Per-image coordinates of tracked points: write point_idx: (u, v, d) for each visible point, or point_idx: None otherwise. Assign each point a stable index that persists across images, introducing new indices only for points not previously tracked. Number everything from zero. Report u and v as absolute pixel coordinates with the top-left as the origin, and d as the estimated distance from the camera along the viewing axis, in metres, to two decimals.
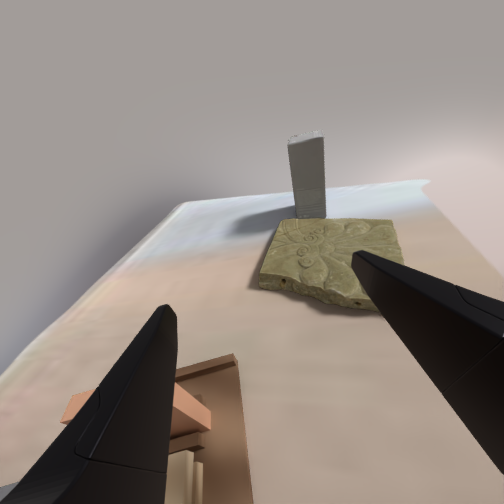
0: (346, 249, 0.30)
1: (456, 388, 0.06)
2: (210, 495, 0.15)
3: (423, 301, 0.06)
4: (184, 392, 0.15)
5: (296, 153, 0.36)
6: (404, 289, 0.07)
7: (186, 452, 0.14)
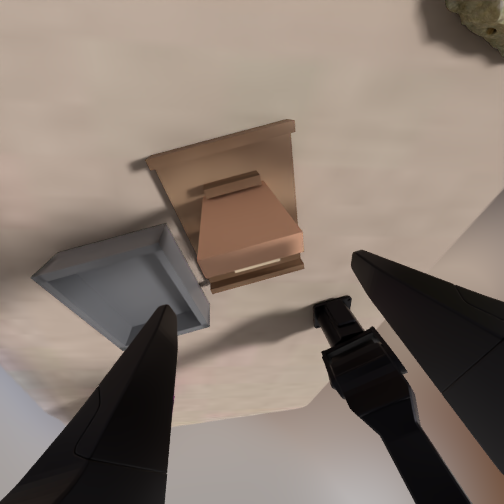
0: None
1: (456, 388, 0.06)
2: None
3: (423, 301, 0.06)
4: (282, 206, 0.14)
5: None
6: (404, 289, 0.07)
7: None
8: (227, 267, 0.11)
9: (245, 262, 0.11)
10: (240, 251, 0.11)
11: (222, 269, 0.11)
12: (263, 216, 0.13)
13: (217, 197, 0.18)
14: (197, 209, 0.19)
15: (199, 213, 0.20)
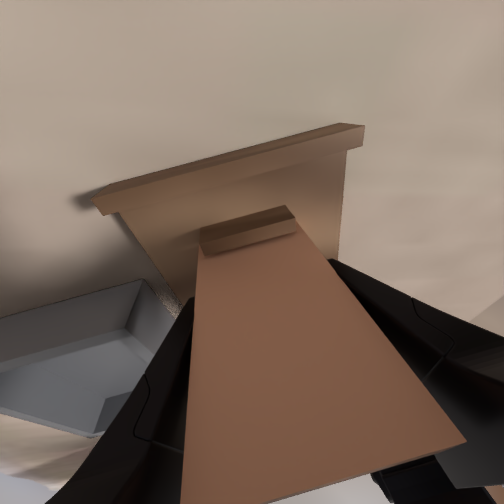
0: None
1: None
2: None
3: (380, 313, 0.06)
4: (353, 297, 0.07)
5: None
6: (364, 300, 0.07)
7: None
8: None
9: (303, 492, 0.05)
10: (297, 492, 0.04)
11: None
12: (322, 329, 0.06)
13: None
14: (190, 263, 0.12)
15: (193, 267, 0.13)
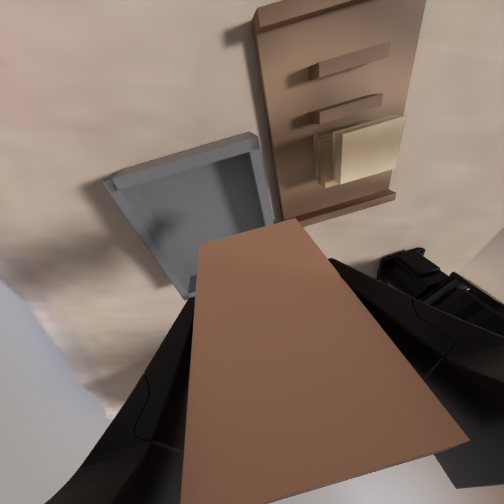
0: None
1: None
2: None
3: (380, 313, 0.06)
4: (354, 295, 0.07)
5: None
6: (364, 300, 0.07)
7: (404, 117, 0.14)
8: None
9: (304, 491, 0.04)
10: (299, 491, 0.04)
11: None
12: (323, 327, 0.06)
13: (222, 249, 0.11)
14: (292, 108, 0.16)
15: (293, 113, 0.16)
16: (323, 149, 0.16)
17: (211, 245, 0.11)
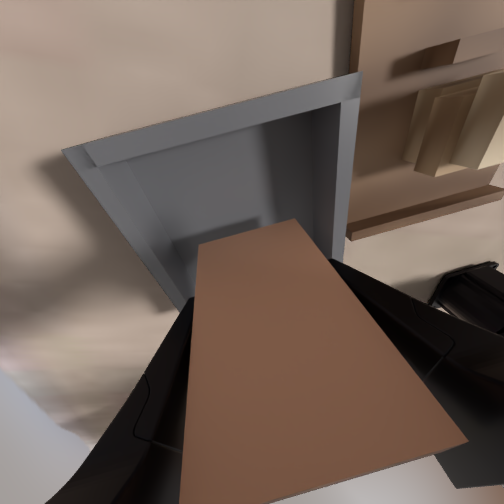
0: None
1: None
2: None
3: (380, 313, 0.06)
4: (353, 296, 0.07)
5: None
6: (364, 300, 0.07)
7: None
8: None
9: (303, 492, 0.04)
10: (297, 493, 0.04)
11: None
12: (322, 328, 0.06)
13: (222, 250, 0.11)
14: (400, 38, 0.09)
15: (399, 49, 0.10)
16: (452, 109, 0.09)
17: (211, 245, 0.11)
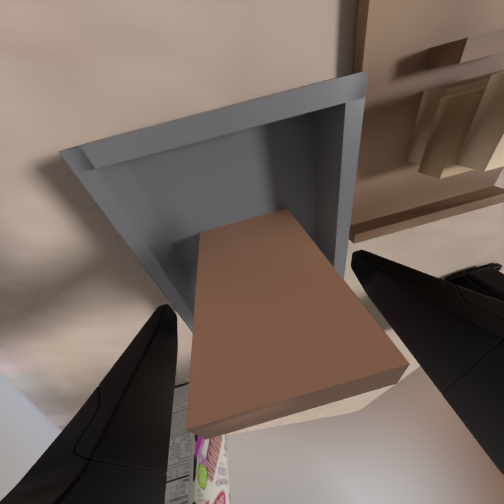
0: None
1: (456, 388, 0.06)
2: None
3: (423, 301, 0.06)
4: (333, 269, 0.08)
5: None
6: (404, 289, 0.07)
7: None
8: (249, 422, 0.06)
9: (284, 412, 0.06)
10: (278, 404, 0.05)
11: (238, 426, 0.06)
12: (305, 293, 0.07)
13: (221, 236, 0.12)
14: (405, 36, 0.09)
15: (404, 49, 0.09)
16: (459, 109, 0.09)
17: (211, 233, 0.13)
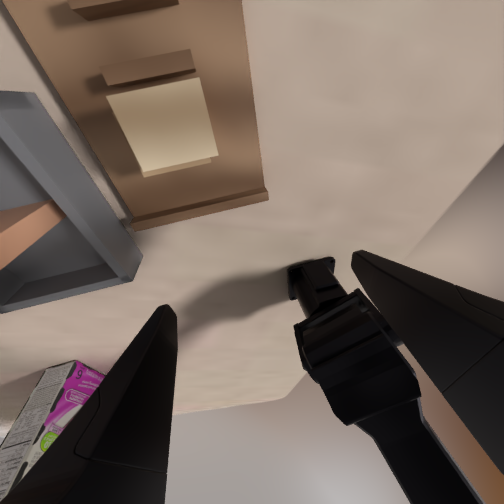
0: None
1: (456, 388, 0.06)
2: (214, 120, 0.14)
3: (423, 301, 0.06)
4: None
5: None
6: (404, 289, 0.07)
7: (199, 80, 0.10)
8: None
9: None
10: None
11: None
12: None
13: None
14: (78, 61, 0.11)
15: (84, 70, 0.12)
16: (118, 122, 0.11)
17: None
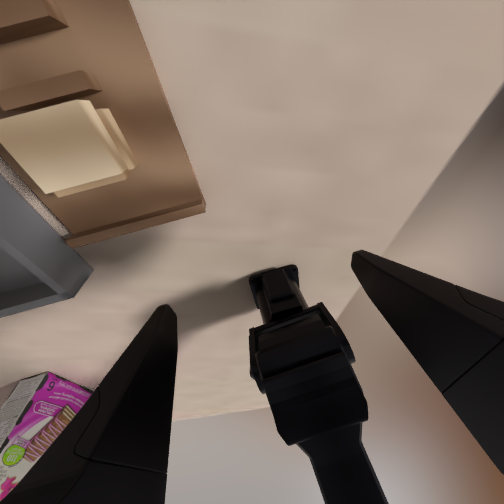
0: None
1: (456, 388, 0.06)
2: (133, 136, 0.14)
3: (423, 301, 0.06)
4: None
5: None
6: (404, 289, 0.07)
7: (78, 102, 0.10)
8: None
9: None
10: None
11: None
12: None
13: None
14: None
15: None
16: None
17: None
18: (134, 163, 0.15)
